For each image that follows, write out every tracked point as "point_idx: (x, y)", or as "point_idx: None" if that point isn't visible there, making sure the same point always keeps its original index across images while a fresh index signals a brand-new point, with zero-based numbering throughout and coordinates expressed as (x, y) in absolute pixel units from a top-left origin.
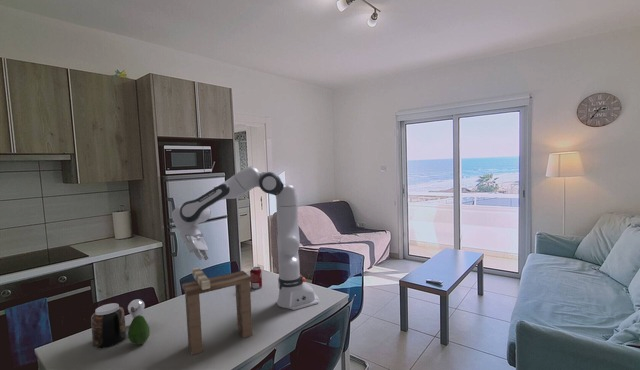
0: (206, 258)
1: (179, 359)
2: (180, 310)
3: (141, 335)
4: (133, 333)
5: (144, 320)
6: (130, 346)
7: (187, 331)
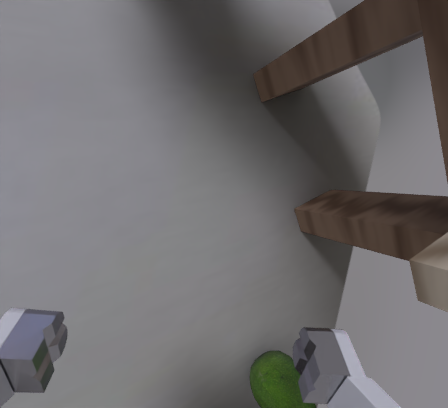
0: (53, 335)
1: None
2: None
3: None
4: None
5: (300, 392)
6: None
7: (328, 238)
